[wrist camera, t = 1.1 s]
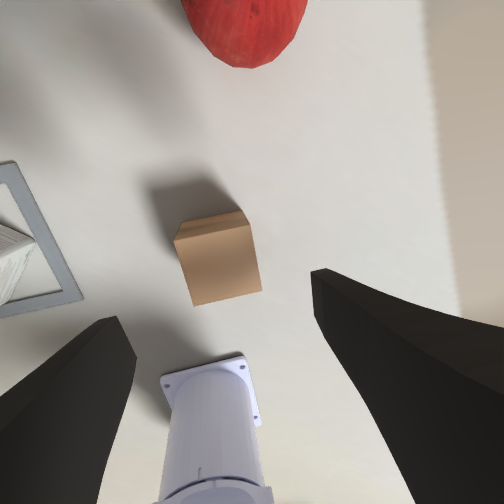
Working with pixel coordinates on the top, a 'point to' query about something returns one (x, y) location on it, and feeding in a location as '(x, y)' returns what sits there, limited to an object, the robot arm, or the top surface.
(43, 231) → the gray square frame
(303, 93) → the top surface
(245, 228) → the walnut cube
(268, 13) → the onion
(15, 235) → the small box
